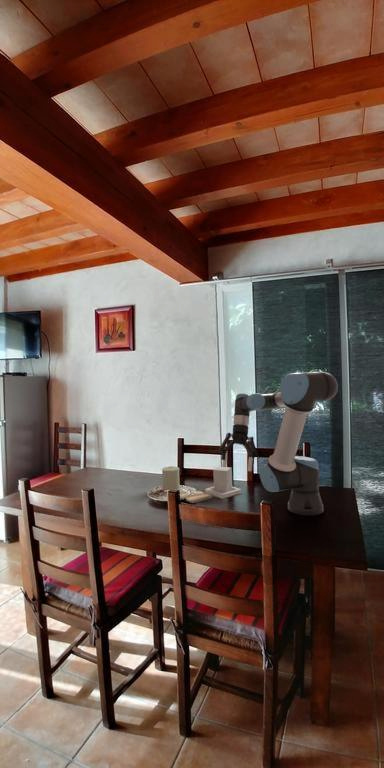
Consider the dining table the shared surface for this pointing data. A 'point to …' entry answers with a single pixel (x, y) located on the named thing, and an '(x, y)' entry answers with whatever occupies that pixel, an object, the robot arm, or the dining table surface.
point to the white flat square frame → (223, 495)
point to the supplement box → (222, 479)
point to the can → (170, 478)
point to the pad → (196, 496)
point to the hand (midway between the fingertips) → (237, 469)
